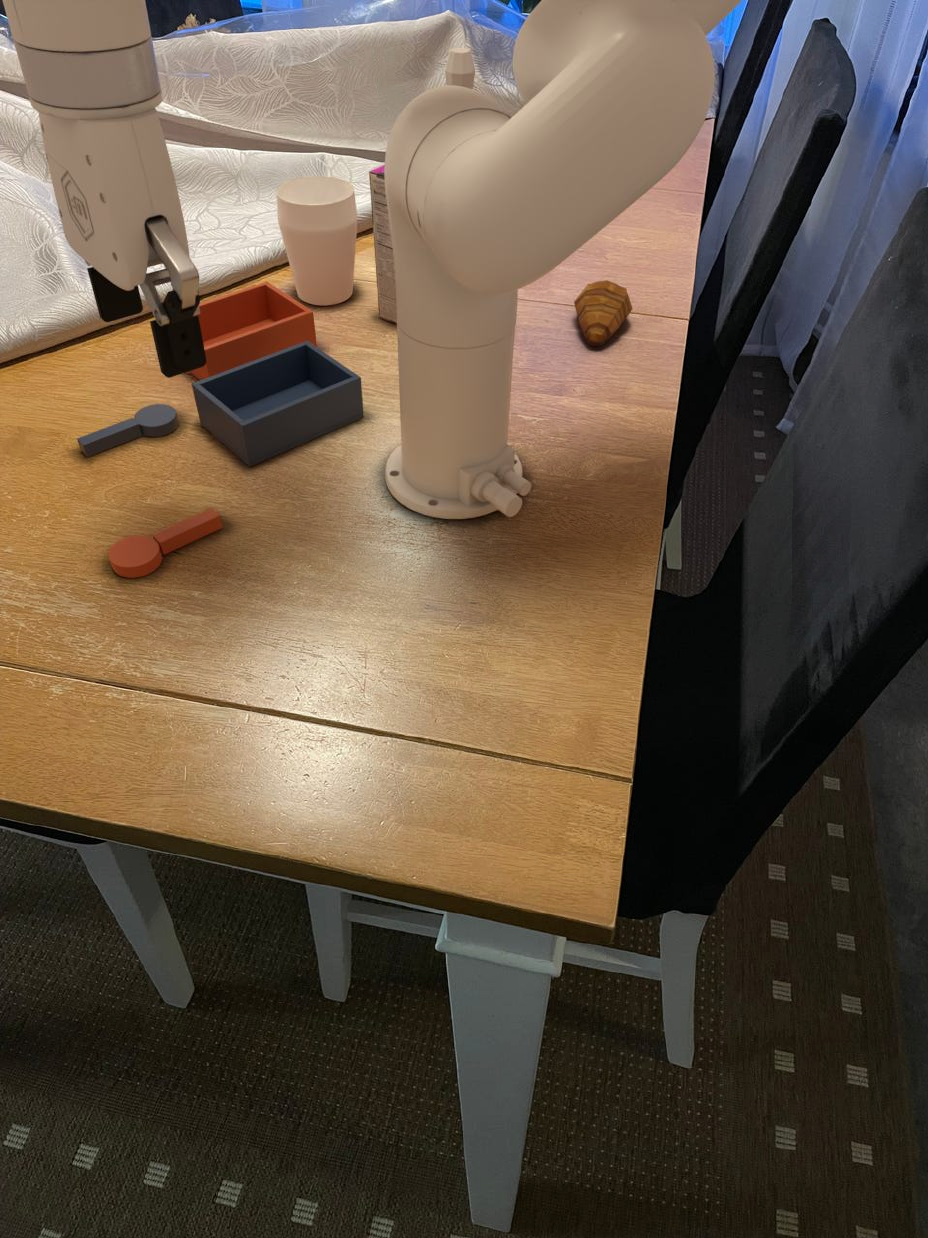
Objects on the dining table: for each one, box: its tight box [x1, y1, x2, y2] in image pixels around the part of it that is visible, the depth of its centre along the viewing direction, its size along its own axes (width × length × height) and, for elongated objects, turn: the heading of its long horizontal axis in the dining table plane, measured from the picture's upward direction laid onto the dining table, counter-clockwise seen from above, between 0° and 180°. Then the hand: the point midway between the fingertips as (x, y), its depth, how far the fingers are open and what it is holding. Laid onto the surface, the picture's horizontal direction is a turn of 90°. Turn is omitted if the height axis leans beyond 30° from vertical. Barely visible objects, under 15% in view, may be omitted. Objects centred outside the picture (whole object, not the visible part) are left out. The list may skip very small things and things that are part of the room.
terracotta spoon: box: [108, 507, 223, 579], centre depth 73 cm, size 10×4×1 cm, turn 131°
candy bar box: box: [368, 164, 397, 325], centre depth 99 cm, size 11×5×16 cm, turn 143°
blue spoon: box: [76, 403, 180, 458], centre depth 84 cm, size 10×4×1 cm, turn 131°
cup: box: [275, 175, 358, 306], centre depth 102 cm, size 9×9×12 cm
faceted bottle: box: [444, 47, 476, 90], centre depth 110 cm, size 6×6×22 cm
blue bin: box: [191, 341, 364, 468], centre depth 86 cm, size 9×13×4 cm
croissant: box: [573, 279, 633, 347], centre depth 101 cm, size 14×7×5 cm, turn 168°
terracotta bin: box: [188, 281, 318, 381], centre depth 95 cm, size 9×13×4 cm
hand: (152, 342), depth 64 cm, fingers open, 9 cm apart
